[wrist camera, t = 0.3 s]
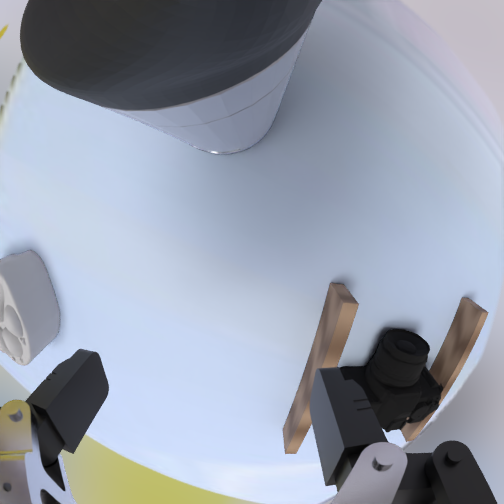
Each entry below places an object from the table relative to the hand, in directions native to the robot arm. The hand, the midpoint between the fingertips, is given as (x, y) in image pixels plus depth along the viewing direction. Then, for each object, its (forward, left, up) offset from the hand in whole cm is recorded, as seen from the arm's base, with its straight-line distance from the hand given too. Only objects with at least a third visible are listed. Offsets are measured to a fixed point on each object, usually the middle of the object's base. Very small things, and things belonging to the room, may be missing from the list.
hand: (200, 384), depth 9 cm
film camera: (+11, +20, -18) cm, 29 cm away
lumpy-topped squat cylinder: (+11, -27, -18) cm, 34 cm away
